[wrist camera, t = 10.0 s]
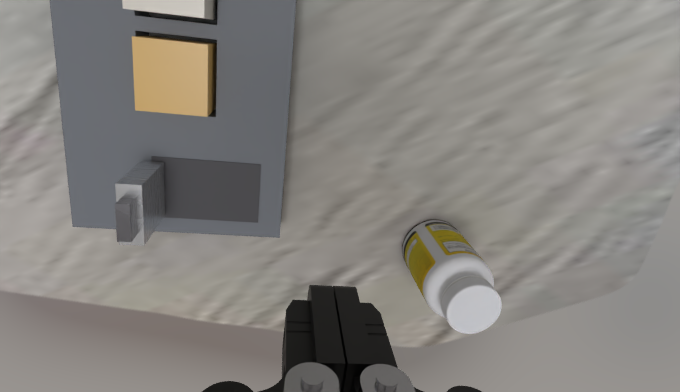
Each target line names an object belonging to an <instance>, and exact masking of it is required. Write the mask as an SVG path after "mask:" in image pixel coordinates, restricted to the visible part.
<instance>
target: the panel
mask: <svg viewBox="0 0 680 392" xmlns="http://www.w3.org/2000/svg"><path fill="white" fill-rule="evenodd" d="M50 9H51V18H52V28H53V38H54V48H55V58H56V67H57V77H58V87H59V97H60V107H61V116H62V126H63V136H64V146H65V156H66V166H67V175H68V185H69V195H70V205H71V215H72V224H73V227H87V228H106V229H116V215H115V203H116V189H115V183H116V182H118V181H119V180H120V179H121V178H122V177H123V176H124V175H126V174H127V173H128V172H129V171H130V170H131V169H133V168H134V167H135V166H136V165H137V164H138V163H139V162H141V161H152V162H164V187H165V216H164V217H163V219H162V220H161V222H160V223H159V225H158V226H157V228H156V229H155V231H163V232H182V233H201V234H220V235H239V236H258V237H277V238H280V224H281V210H282V196H283V182H284V167H285V153H286V139H287V125H288V110H289V96H290V82H291V68H292V54H293V39H294V25H295V11H296V0H218V15H217V25H213V24H204V23H196V22H187V21H179V20H170V19H162V18H153V17H149V12H143V11H136V10H129V9H123V5H122V0H50ZM149 32H152V33H161V34H170V35H179V36H188V37H197V38H206V39H215V40H217V80H216V110H215V109H214V110H213V112H212V113H211V114H210V115H209V116H208V117H204V116H193V115H181V114H170V113H159V112H147V111H136V110H135V96H134V74H133V52H132V36H149Z"/></svg>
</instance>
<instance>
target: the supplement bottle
mask: <svg viewBox="0 0 680 392" xmlns="http://www.w3.org/2000/svg"><path fill="white" fill-rule="evenodd" d="M403 257H404V260H405V262H406V265H407V267H408V268H409V270H410V272H411V274H412V276H413V278H414V280H415V282H416V284H417V286H418V288H419V289H420V291H421V293H422V295H423V297H424V299H425V301H426V302H427V304H428V305H429V307H430V308H431V309H432V310H433V311H434V312H435V313H437V314H438V315H440V316H442V317H445V318H446V320H447V321H448V323H449V325H450V326H451V327H452V328H453V329H455V330H456V331H458V332H461V333H466V334H473V333H478V332H481V331H483V330H485V329H487V328H488V327H490V326H491V325H492V324H493V323H494V322H495V321H496V320H497V318H498V317H499V315H500V312H501V307H502V303H501V298H500V296H499V294H498V293H497V292H496V290H495V289H494V279H493V275H492V272H491V270H490V269H489V267H488V266H487V264H486V263H485V262H484V261H483V259H482V258H481V257H480V256H479V255H478V254H477V253H476V251H475V250H474V249H473V248H472V247H471V245H470V244H469V243H468V242H467V241H466V240H465V239H464V237H463V236H462V235H461V234H460V233H459V232H458V231H457V230H456V229H455V228H454V227H453V226H452V225H450V224H449V223H447V222H444V221H440V220H430V221H426V222H423V223H421V224H419V225H417V226H416V227H415V228H413V229H412V230H411V231H410V232H409V234H408V235H407V237H406V238H405V241H404V244H403Z"/></svg>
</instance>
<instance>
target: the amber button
mask: <svg viewBox="0 0 680 392" xmlns="http://www.w3.org/2000/svg"><path fill="white" fill-rule="evenodd" d="M132 52H133V74H134V96H135V110H136V111H147V112H159V113H170V114H181V115H193V116H204V117H208V116H209V115H210V114H211V113H212V112H213V110H214V109H215V108H216V80H217V43H211V42H202V41H193V40H184V39H175V38H166V37H157V36H132Z"/></svg>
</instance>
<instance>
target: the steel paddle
mask: <svg viewBox="0 0 680 392" xmlns="http://www.w3.org/2000/svg"><path fill="white" fill-rule="evenodd" d="M115 189H116V203H115V215H116V230H117V242H119V244H123V245H145V244H146V242H147V241H148V239H149V238H150V236H151V235H152V233H153V232H154V231H155V229H156V228H157V226H158V225H159V223H160V222H161V220H162V219H163V217H164V216H165V187H164V162H152V161H141V162H139V163H138V164H137V165H136V166H135V167H134V168H133V169H131V170H130V171H129V172H128V173H127V174H126V175H124V176H123V177H122V178H121V179H120V180H119V181H118V182H116V183H115Z"/></svg>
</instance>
